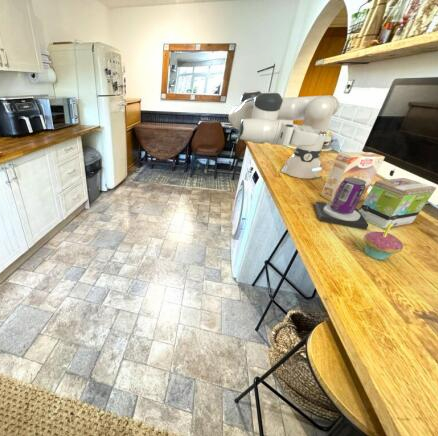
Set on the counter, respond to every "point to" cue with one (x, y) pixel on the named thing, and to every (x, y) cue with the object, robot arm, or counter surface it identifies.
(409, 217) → the tea box
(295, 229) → the counter surface
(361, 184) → the beverage can
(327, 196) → the coffeecake box
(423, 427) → the counter surface
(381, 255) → the cupcake
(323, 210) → the scale
